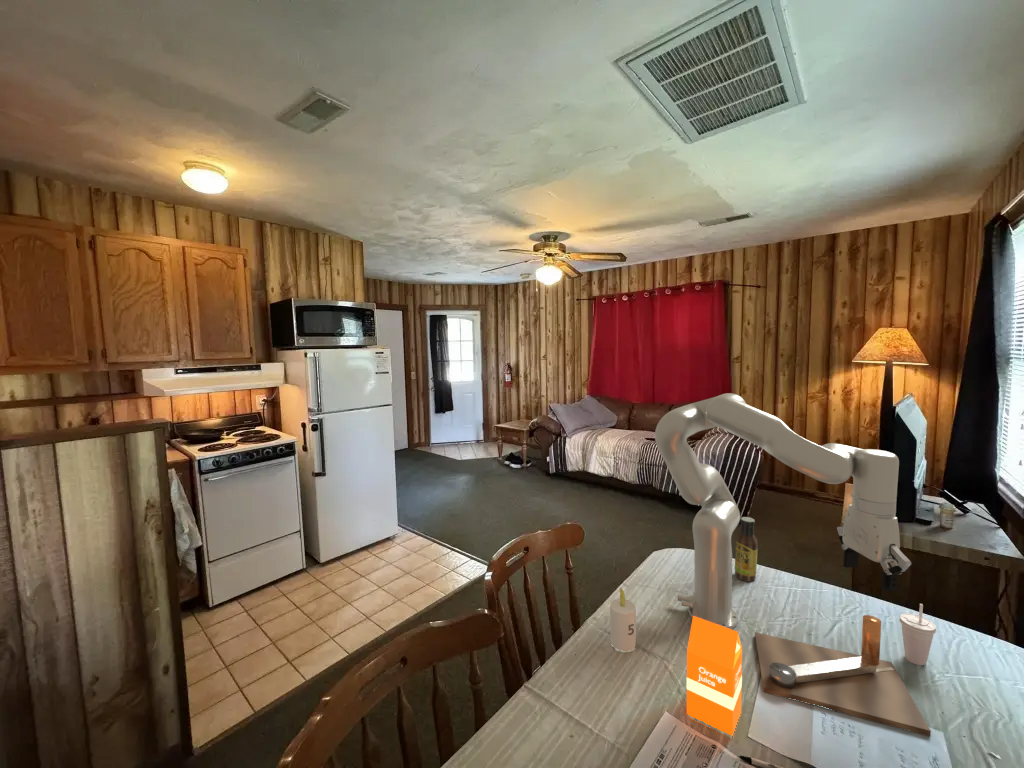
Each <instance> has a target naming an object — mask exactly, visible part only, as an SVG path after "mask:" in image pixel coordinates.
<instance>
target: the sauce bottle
mask: <svg viewBox="0 0 1024 768" xmlns="http://www.w3.org/2000/svg"><path fill="white" fill-rule="evenodd" d="M755 524H756V521H755V519H754V518H752V517H750V516H742V517H740V532H739V533H738V534H737V535H736V540H735V556H734V575H735V577H737V578H738V579H739V580H742V581H744V582H754V581H755V580H756V578H757V577H756V576H757V570H758V569H757V568H758V567H757V566H758V565H757V563H758V550H759V549H758V543H759V542H758V539H757V537H756V534H755Z"/></svg>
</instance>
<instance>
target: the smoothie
mask: <svg viewBox="0 0 1024 768" xmlns="http://www.w3.org/2000/svg"><path fill="white" fill-rule="evenodd" d="M923 609H924V605H923V603H919V610H918V611H919V612H918V613H919V614H918V615H917V614H912V613H902V614H900V616H899V620H898V621H899V623H900V625H901V632H902V641H903V643H902V644H903V650H904V657H905V659H906V660H907V661H908V662H910V663H912V664H914V665H916V664H917V665H916V666H921V665H924V666H926V665H927V662H928V658H929V655H930V650H931V647H932V643H933V640H934V634H936V633H937V626H936V625H935V624H934V622H932V621H931V620H929V619H927V618H925V617H923ZM925 664H926V665H925Z"/></svg>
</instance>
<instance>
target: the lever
mask: <svg viewBox="0 0 1024 768" xmlns="http://www.w3.org/2000/svg"><path fill="white" fill-rule="evenodd" d="M861 630H862V631H861V632H862V633H861V651H860V652H861V653H860V654H861V657H853V658H846V659H838V660H831V661H823V662H815V663H808V664H800V665H793V666H787V665H785V664H782V663H772V664H770V671H769V676H770V678H771V680H772V681H773V682H774V683H776V684H777V685H779V686H782V687H785V688H793V687H795V685H796V683H801V682H808V681H815V680H823V679H830V678H837V677H844V676H852V675H859V674H866V673H873V672H876V666H878V665H879V660H881V659H880V656H881V635H882V621H881V619H879V618H877V617H876V616H874V615H870V614H864V615H862V629H861Z"/></svg>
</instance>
